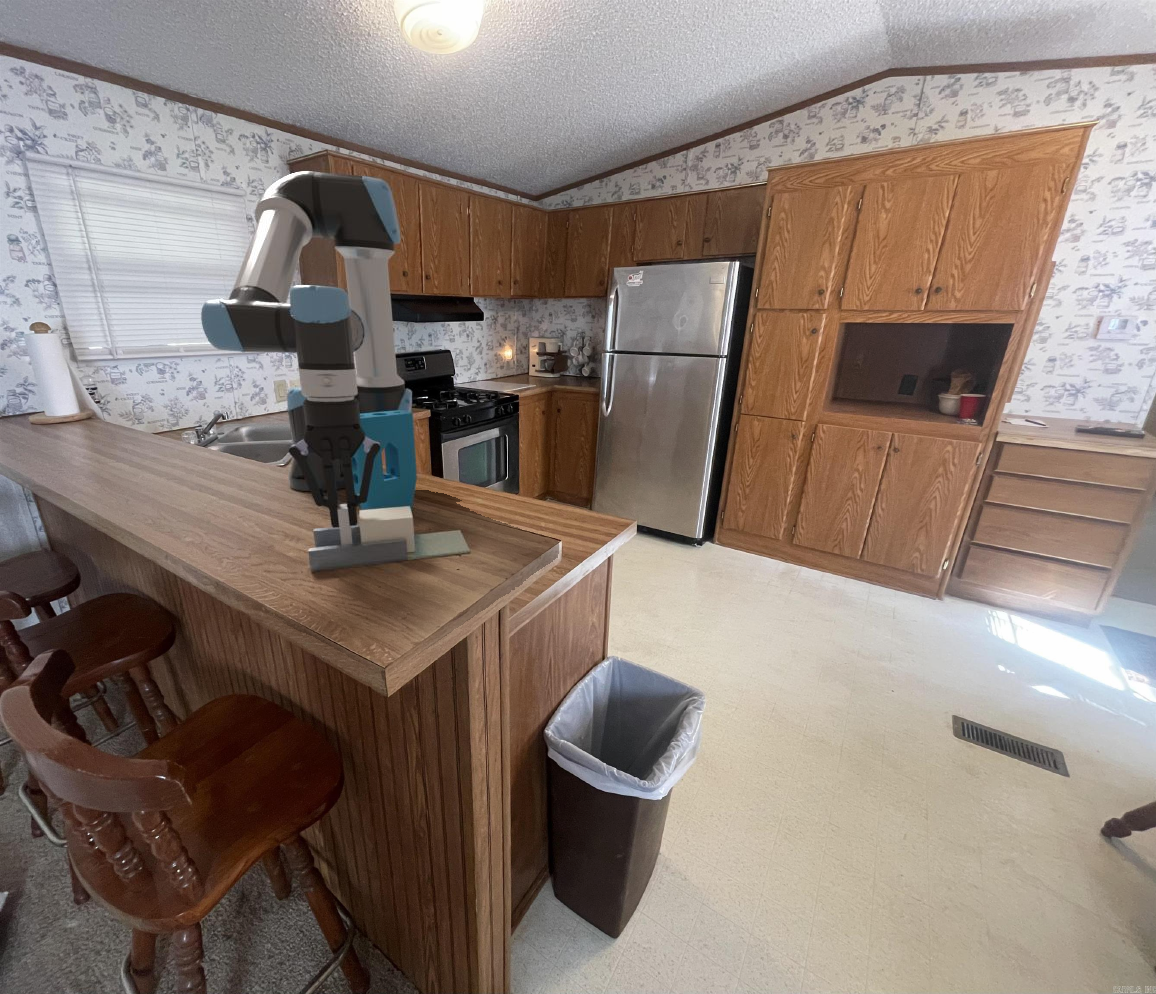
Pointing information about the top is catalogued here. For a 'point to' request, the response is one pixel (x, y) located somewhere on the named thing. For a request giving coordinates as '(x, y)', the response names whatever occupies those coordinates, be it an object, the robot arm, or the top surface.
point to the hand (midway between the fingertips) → (347, 544)
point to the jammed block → (387, 525)
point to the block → (388, 460)
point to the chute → (378, 548)
